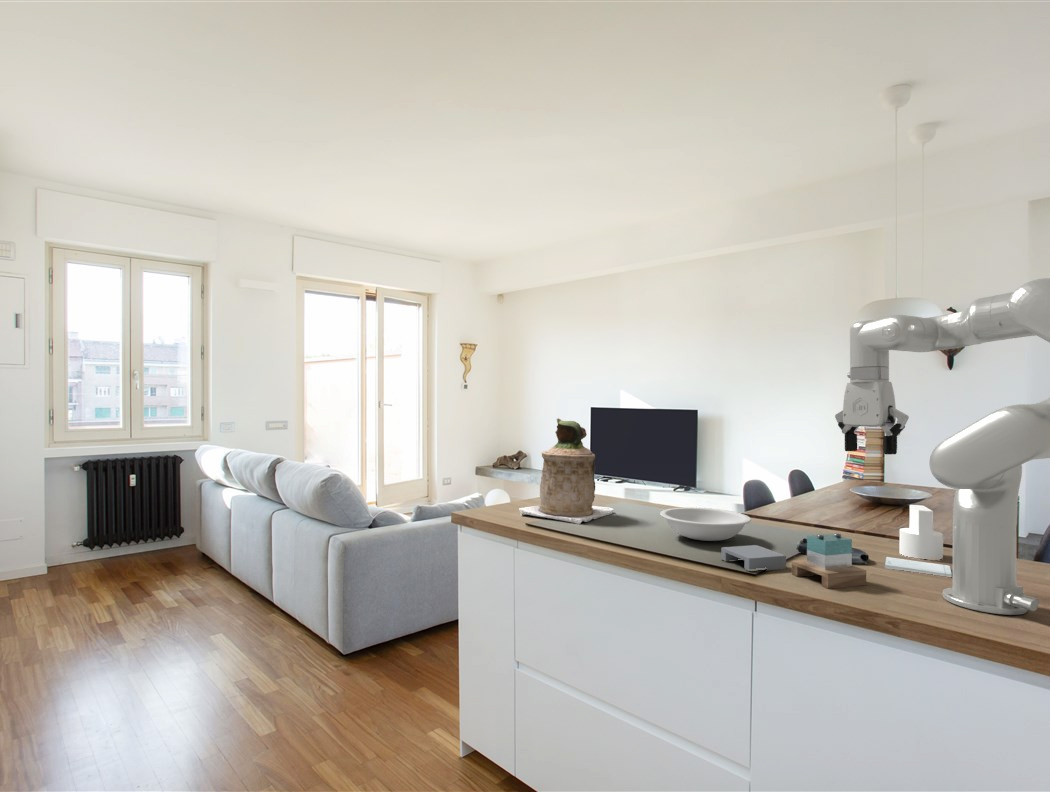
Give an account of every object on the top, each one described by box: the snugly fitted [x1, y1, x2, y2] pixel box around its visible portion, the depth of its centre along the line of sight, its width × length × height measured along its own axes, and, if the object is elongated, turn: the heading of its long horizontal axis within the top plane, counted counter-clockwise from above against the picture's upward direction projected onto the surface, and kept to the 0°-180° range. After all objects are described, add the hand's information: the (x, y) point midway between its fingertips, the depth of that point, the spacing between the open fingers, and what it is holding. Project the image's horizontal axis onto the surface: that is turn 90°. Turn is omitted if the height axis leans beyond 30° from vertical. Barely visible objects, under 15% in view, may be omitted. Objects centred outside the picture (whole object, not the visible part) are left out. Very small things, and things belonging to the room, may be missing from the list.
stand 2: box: [791, 559, 867, 589], centre depth 124 cm, size 10×10×3 cm
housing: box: [806, 533, 853, 570], centre depth 124 cm, size 7×5×7 cm
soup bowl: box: [659, 506, 752, 542], centre depth 160 cm, size 24×24×7 cm
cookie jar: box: [518, 417, 615, 525], centre depth 193 cm, size 25×25×32 cm
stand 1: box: [720, 544, 787, 571], centre depth 135 cm, size 10×10×3 cm
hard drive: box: [884, 556, 953, 578], centre depth 133 cm, size 2×8×12 cm
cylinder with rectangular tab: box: [898, 504, 944, 559], centre depth 145 cm, size 9×9×12 cm
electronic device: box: [796, 537, 870, 565], centre depth 143 cm, size 9×6×15 cm
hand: (869, 452), depth 129 cm, fingers open, 9 cm apart
